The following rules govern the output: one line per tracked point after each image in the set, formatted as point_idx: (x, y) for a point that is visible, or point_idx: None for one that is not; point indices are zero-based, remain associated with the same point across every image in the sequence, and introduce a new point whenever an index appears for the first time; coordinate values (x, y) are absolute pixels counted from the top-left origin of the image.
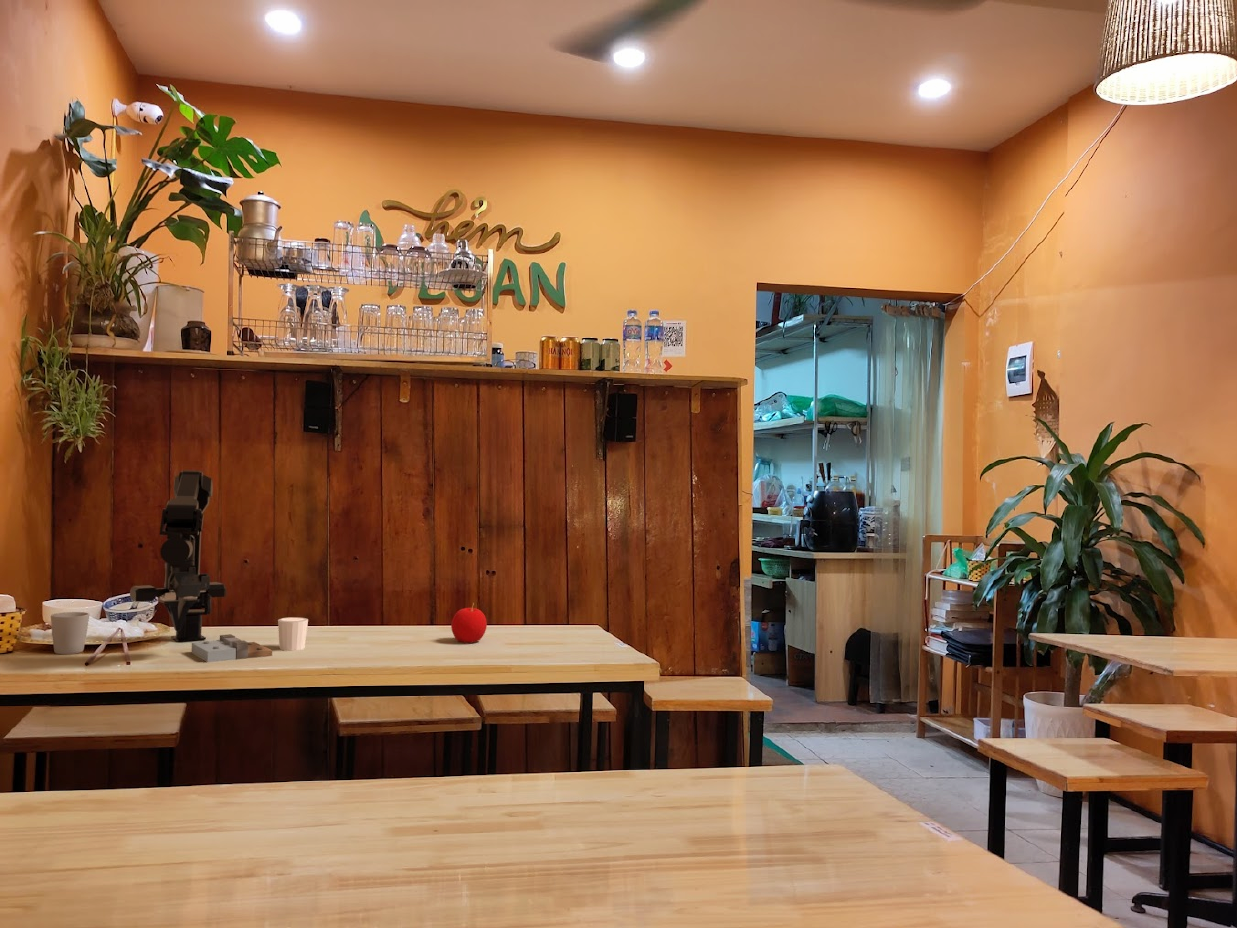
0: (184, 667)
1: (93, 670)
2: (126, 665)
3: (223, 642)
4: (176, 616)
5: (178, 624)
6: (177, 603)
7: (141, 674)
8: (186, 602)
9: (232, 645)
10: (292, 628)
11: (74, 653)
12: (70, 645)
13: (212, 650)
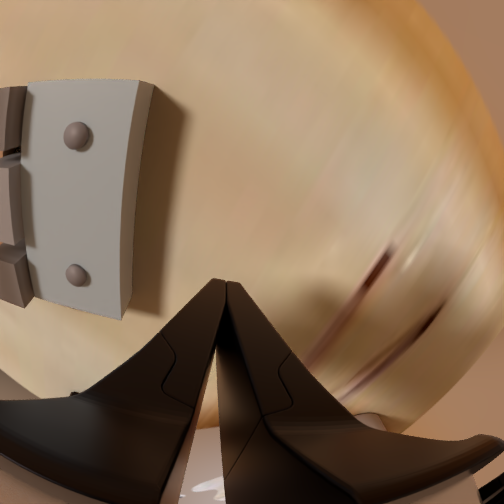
0: (285, 50)
1: (475, 239)
2: (401, 243)
3: (26, 243)
4: (261, 348)
5: (230, 300)
6: (351, 467)
7: (446, 78)
8: (147, 469)
9: (16, 146)
10: None
11: (360, 414)
12: (375, 426)
13: (109, 95)
